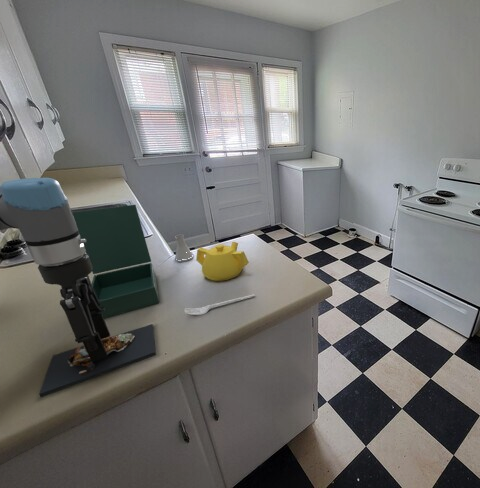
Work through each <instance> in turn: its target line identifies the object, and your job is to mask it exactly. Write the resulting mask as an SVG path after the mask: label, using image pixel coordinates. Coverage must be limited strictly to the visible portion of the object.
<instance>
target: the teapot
mask: <svg viewBox="0 0 480 488" xmlns="http://www.w3.org/2000/svg"><path fill="white" fill-rule="evenodd" d="M230 245H231V246H230ZM230 245H224V244H220V243H219V244H217V245H215V246H214V247H212V248H210V249H208V248H204V247H199V248H198V249H196V259H195V261H196V262H197V263H198V264H200V265H201V273H202V275H203V276H204V277H205V278H207V279H209V280H210V281H215V282H223V281H228V280H232V279H234V278H235V277H237V276H239V275H240V274H241V272H242V271H243V270H244V268H245V267H247V265H248V264H249V260H248V258H247V255H246V253H245V251H244V250H240V251H238V246H239V243H238V242H236V241H232V242H231V244H230Z"/></svg>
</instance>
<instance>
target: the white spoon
mask: <svg viewBox="0 0 480 488" xmlns="http://www.w3.org/2000/svg"><path fill="white" fill-rule="evenodd" d="M254 297H256V294H253V293H252V294H249V295H246V296H241V297H236V298H232V299H229V300H228V299H227V300H225V301H221V302H215V303H212V304H207V305H205V306H202V307H196V308H186V307H185V308H183V309H184V313H185V314H187V315H191V316H202V315H205V314H207V313H208V312H209V310H210V309H214V308H217V307H220V306H224V305H225V306H226V305H228V304H232V303H235V302H239V301H243V300H247V299H251V298H254Z"/></svg>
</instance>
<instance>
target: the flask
mask: <svg viewBox="0 0 480 488" xmlns="http://www.w3.org/2000/svg"><path fill="white" fill-rule="evenodd" d="M184 237H185V235H184V234H177V235H175V236H174V238H175V240H176V250H175V256H174V261H175V262H178V263H183V262H188V261H190V260H193V259H194V257H195V255H194V253H193V252H192V251H191V249H190V247H189V246H188V244H187V243H186V241H185V238H184ZM190 251H191V252H190ZM186 252H187V253H186ZM192 255H193V257H192ZM190 257H192V258H190ZM188 258H190V259H188ZM176 259H177V260H176ZM182 259H187V260H182ZM178 260H181V261H178Z"/></svg>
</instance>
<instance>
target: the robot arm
mask: <svg viewBox="0 0 480 488" xmlns="http://www.w3.org/2000/svg"><path fill="white" fill-rule="evenodd" d="M72 212H73V211H72V210H71V207H70V204H69V201H68V197H67V196H66V195H65V193H64V191H63V189H62V187H61V184H60V182H59V181H57V180H56V179H55V178H51V177H29V178H17V179H12V180H7V181H4V182H2V183H1V184H0V231H3V230H8V229H16V230H19V232H20V234H21V236H22V238H23V240H24V243H25V244H26V247H27V249H28V251H29V253H30V255H31V258H32V260H33V263H34V264H36V265H38V266H37V269H38V271H39V273H40V275H41V278H42V280H43V281H44V283H45V284H47V285H57V286H60V287H61V288H60V289H59V293H60V296H61V298H63V299H61V300H59V305H60V306H61V308H62V310H63V311H64V313H65V316H66V318H67V321H68V323H69V325H70V328H71V330H72V333H73V335H74V338H75V339H74V341H75V343H77V344H81V343H82V344H83V346H85V348H86V350H87V353H88V355H89V357H90V359H91V361H92V362H94V361H97V360H100V359H103V358H106V357H108V354H107V352H106V350H105V347H104V345H103V343H102V340H101V339H105V338H108V337H111V334H110V331H109V328H108V326H107V323H106V321H105V318H103V316H102V313H100V312H103V311H105V309H104V307H101V308H100V307H99V306H101V303H100V302H99V299H98V297H97V295H96V293H95V290H94V288H93V286H92V281H91V280H90V276H89V275H90V274H91V273H93V272H92V271H93V266H92V264H91V261H90V259H89V256H88V255H87V254H86V249H85V247H84V243H86V240H85V239H81V237H80V234H79V231H78V228H77V225H76V222H75V219H74V216H73V214H72ZM99 313H100V314H99Z"/></svg>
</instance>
